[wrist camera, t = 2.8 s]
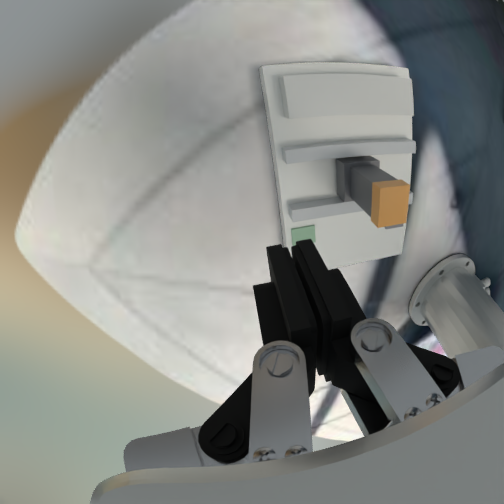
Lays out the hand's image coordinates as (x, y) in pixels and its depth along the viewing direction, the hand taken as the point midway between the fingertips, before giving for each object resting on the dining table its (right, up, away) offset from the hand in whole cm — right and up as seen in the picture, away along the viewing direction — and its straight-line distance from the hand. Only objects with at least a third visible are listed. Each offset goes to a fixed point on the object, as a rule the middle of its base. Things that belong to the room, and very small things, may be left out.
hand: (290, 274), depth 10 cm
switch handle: (+7, +7, +9) cm, 13 cm away
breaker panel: (+6, +8, +11) cm, 15 cm away
